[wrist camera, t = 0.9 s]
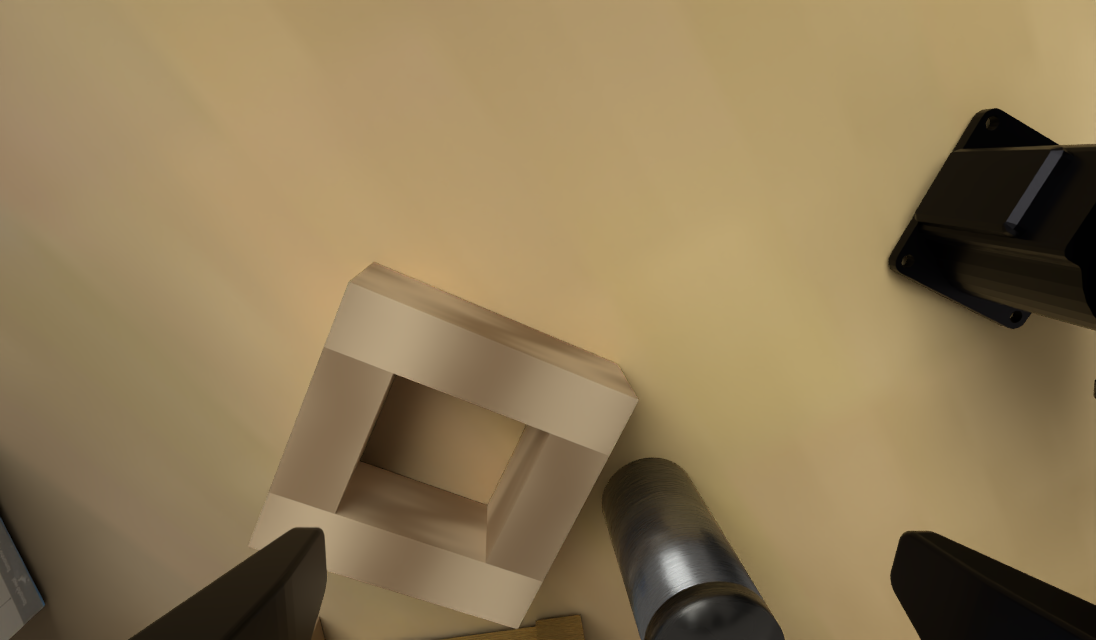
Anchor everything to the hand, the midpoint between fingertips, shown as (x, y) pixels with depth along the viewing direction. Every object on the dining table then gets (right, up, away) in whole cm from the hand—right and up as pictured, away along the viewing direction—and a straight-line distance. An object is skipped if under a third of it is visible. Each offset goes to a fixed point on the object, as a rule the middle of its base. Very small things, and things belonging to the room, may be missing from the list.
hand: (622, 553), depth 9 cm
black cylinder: (+3, -4, +15) cm, 16 cm away
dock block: (-5, -1, +14) cm, 14 cm away
